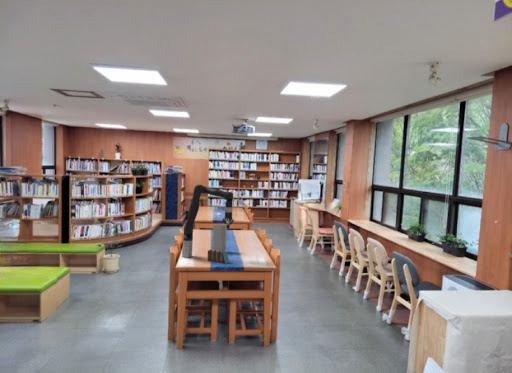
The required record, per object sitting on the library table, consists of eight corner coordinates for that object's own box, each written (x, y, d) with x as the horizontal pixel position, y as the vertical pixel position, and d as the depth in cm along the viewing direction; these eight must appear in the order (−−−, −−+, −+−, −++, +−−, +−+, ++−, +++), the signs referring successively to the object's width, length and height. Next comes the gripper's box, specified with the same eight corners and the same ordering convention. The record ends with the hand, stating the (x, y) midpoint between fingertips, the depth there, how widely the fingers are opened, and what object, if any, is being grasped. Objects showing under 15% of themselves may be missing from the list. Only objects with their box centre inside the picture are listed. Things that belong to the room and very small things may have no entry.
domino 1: (207, 260, 307) (207, 250, 306) (209, 259, 311) (210, 249, 311) (209, 260, 306) (209, 251, 305) (211, 259, 310) (212, 249, 310)
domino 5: (225, 263, 299) (222, 253, 300) (227, 262, 304) (225, 252, 304) (227, 263, 298) (224, 253, 299) (229, 262, 303) (226, 252, 304)
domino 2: (211, 261, 305) (212, 251, 304) (214, 260, 309) (214, 250, 309) (213, 261, 304) (213, 251, 303) (216, 260, 309) (216, 250, 308)
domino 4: (220, 263, 301) (220, 252, 300) (223, 261, 306) (223, 251, 305) (222, 263, 300) (222, 253, 300) (224, 261, 305) (225, 251, 304)
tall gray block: (212, 253, 334) (213, 225, 332) (212, 251, 339) (213, 224, 338) (225, 252, 337) (226, 225, 336) (225, 251, 343) (226, 224, 341)
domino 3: (216, 262, 303) (216, 252, 302) (218, 260, 307) (219, 251, 307) (218, 262, 302) (218, 252, 301) (220, 261, 307) (220, 251, 306)
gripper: (236, 211, 315) (235, 228, 316) (224, 210, 320) (224, 227, 321) (232, 212, 308) (232, 229, 309) (221, 211, 313) (220, 228, 314)
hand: (228, 228), depth 315 cm, fingers closed
